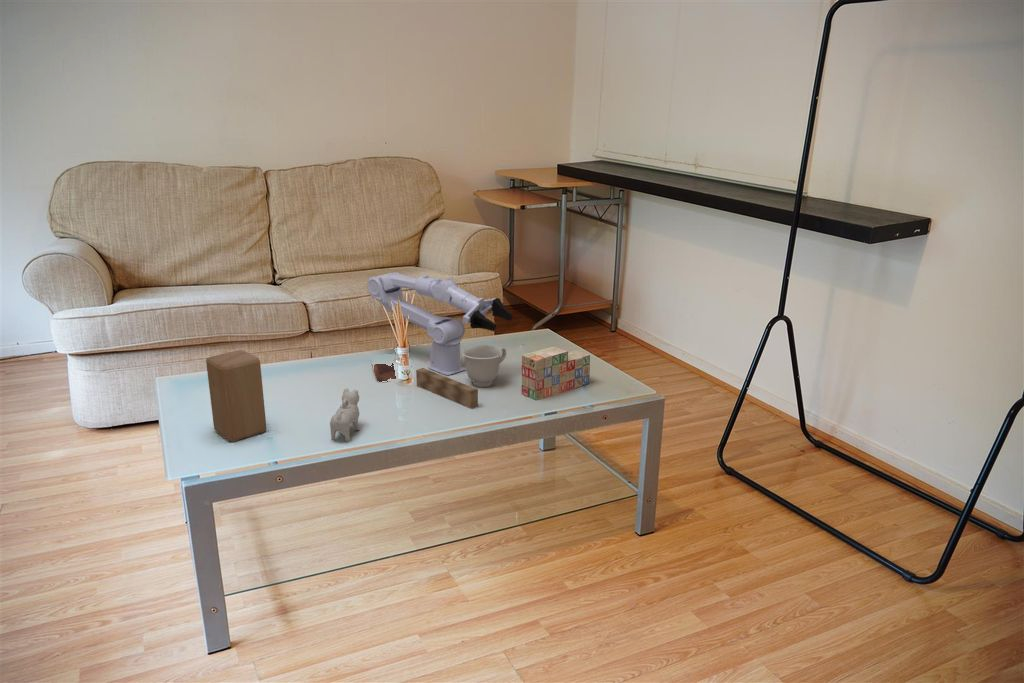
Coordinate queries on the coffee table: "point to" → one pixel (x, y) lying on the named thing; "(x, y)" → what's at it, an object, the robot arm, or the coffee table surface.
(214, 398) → the wooden block
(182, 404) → the coffee table surface
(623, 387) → the coffee table surface
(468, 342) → the coffee table surface
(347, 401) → the grey animal figure
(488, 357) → the teacup
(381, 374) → the wooden tablet
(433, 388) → the walnut board
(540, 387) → the stack of blocks
